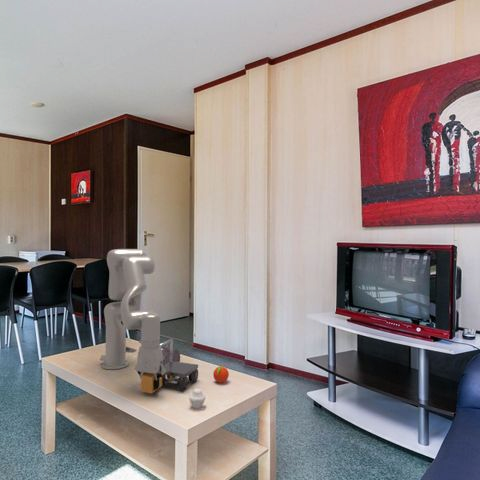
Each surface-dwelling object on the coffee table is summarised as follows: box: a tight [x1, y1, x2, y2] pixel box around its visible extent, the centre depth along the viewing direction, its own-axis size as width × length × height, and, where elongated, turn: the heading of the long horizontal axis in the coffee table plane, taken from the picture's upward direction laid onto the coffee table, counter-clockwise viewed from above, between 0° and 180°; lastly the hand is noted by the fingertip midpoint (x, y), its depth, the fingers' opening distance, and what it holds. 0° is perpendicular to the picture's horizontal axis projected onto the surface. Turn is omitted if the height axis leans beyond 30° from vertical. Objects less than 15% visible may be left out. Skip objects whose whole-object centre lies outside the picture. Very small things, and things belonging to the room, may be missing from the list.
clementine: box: [213, 366, 230, 383], centre depth 172 cm, size 8×7×7 cm
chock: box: [140, 373, 162, 394], centre depth 159 cm, size 5×8×6 cm, turn 161°
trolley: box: [159, 338, 199, 392], centre depth 169 cm, size 14×16×18 cm
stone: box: [162, 343, 181, 365], centre depth 195 cm, size 10×6×15 cm
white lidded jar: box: [188, 388, 206, 410], centre depth 147 cm, size 6×6×7 cm
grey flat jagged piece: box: [126, 346, 137, 353], centre depth 220 cm, size 21×7×2 cm, turn 55°
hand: (150, 387), depth 158 cm, fingers closed on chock, 5 cm apart
